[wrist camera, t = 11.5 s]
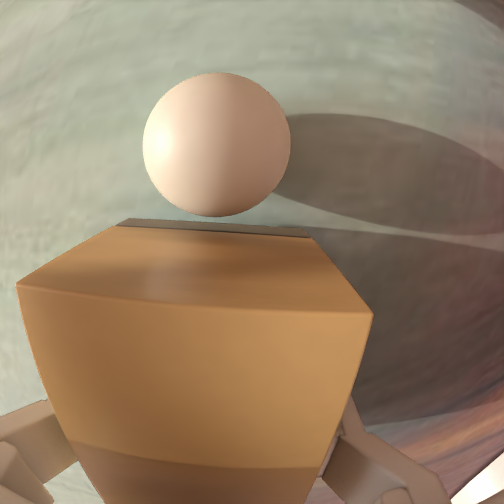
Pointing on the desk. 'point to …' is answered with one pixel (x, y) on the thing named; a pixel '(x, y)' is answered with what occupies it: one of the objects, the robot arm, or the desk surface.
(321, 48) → the desk surface
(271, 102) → the beige ball
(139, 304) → the eraser
